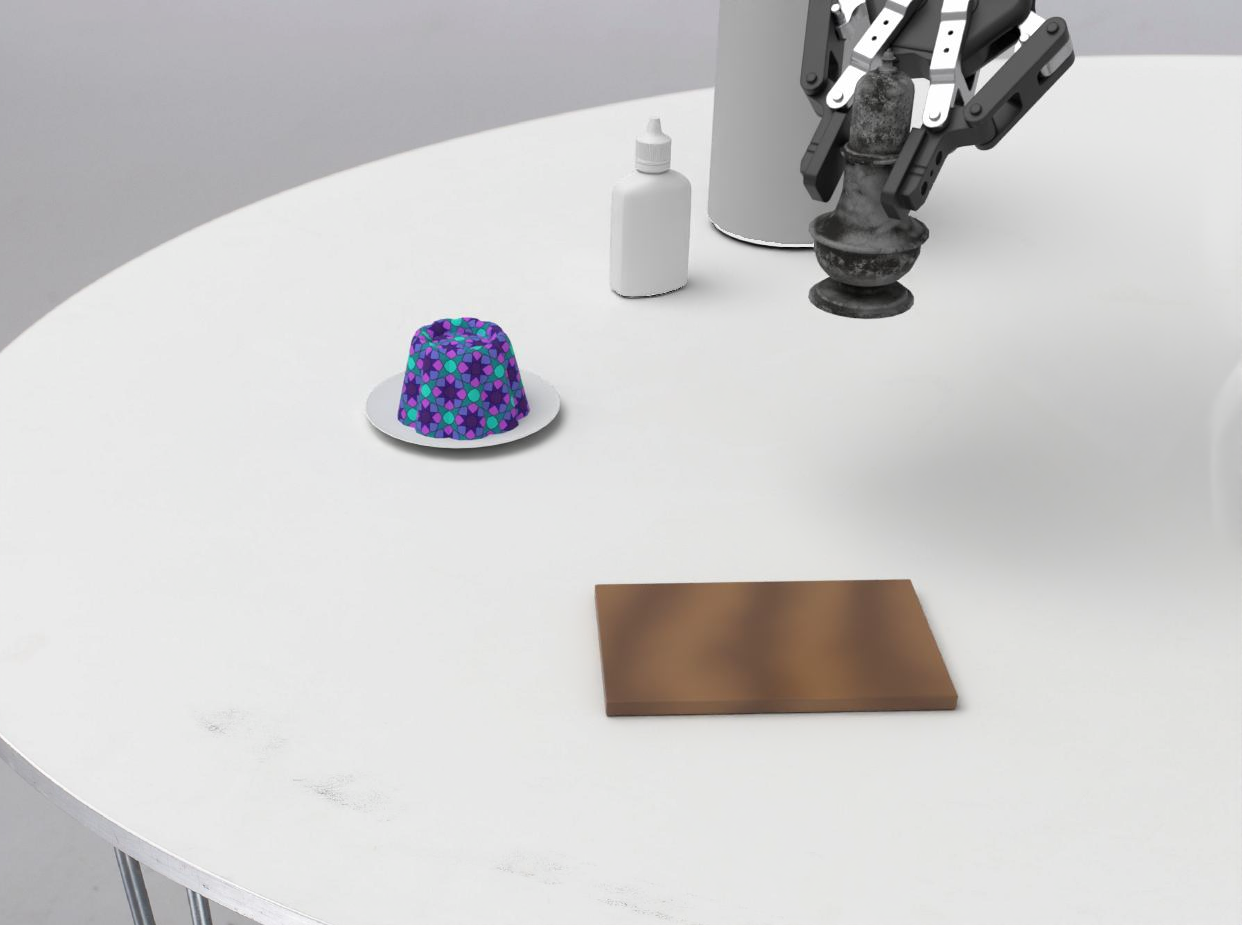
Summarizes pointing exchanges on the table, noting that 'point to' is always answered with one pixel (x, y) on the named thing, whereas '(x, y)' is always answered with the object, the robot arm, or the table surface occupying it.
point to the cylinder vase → (764, 122)
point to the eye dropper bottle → (650, 221)
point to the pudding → (462, 390)
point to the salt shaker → (869, 207)
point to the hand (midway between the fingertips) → (853, 200)
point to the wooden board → (768, 648)
